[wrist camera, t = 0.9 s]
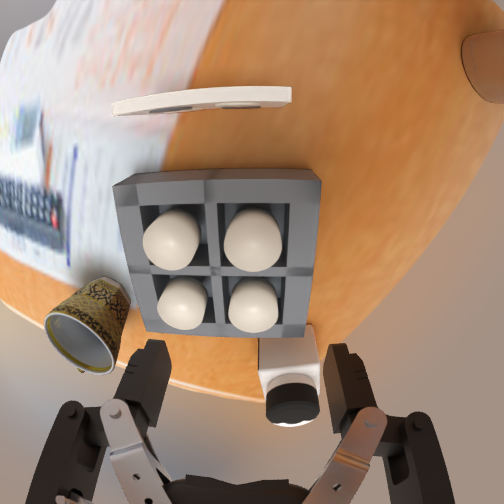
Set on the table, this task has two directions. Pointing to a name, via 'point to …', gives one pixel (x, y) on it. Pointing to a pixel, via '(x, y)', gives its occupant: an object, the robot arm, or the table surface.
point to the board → (212, 240)
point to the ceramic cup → (90, 326)
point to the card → (205, 100)
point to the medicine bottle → (290, 378)
